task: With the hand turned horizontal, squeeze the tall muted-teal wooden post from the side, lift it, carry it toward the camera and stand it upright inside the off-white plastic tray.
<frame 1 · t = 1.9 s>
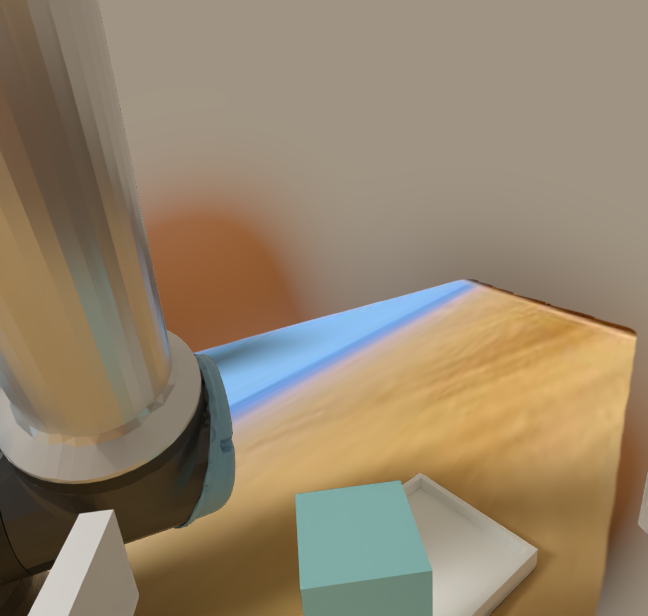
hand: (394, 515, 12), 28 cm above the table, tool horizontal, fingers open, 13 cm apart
tray: (426, 561, 43), on the table
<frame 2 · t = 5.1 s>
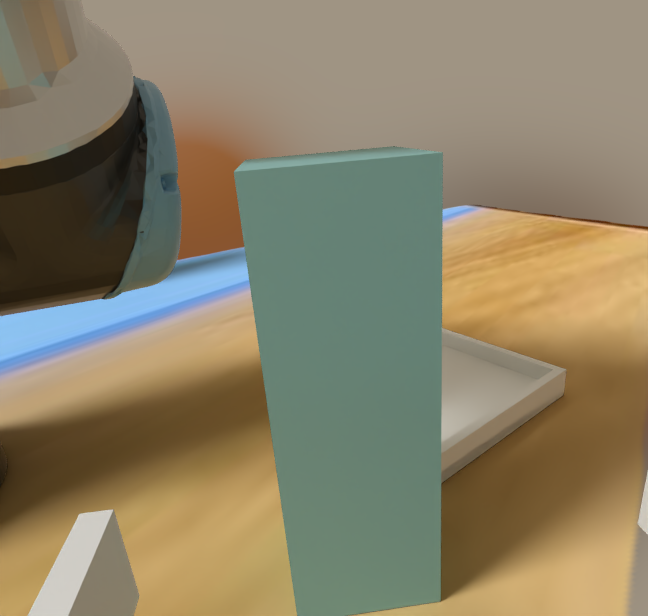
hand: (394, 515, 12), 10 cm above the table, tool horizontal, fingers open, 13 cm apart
tray: (428, 395, 35), on the table
teal post: (358, 552, 23), on the table
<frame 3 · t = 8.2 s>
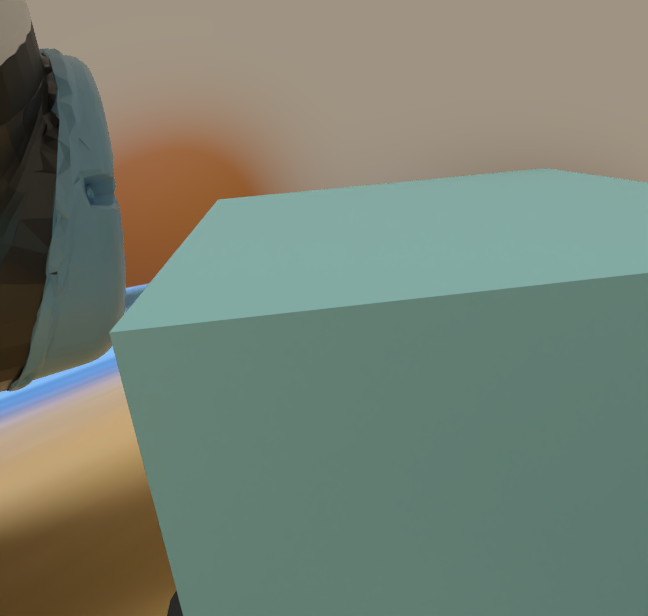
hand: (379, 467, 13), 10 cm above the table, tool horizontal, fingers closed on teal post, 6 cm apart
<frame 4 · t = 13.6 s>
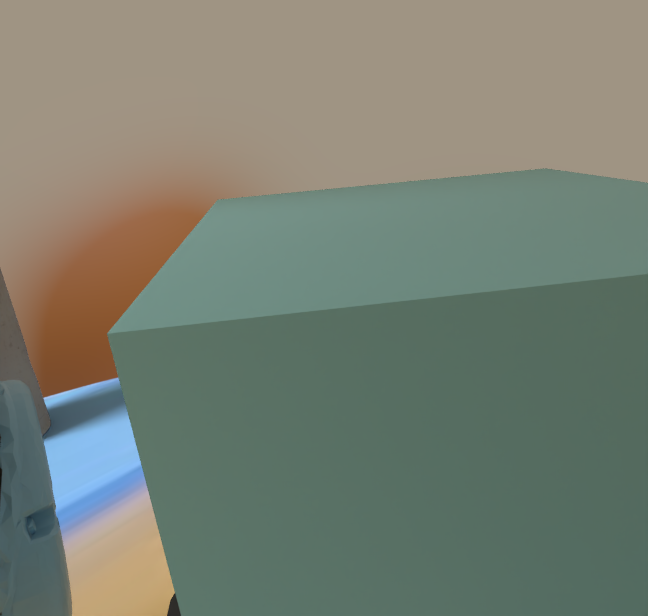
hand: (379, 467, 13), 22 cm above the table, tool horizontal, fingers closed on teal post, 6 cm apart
thermos bottle: (14, 436, 57), on the table
when the fingers open (12 cm above the table, at t = 19.0 s): teal post stays where it is, resting on tray.
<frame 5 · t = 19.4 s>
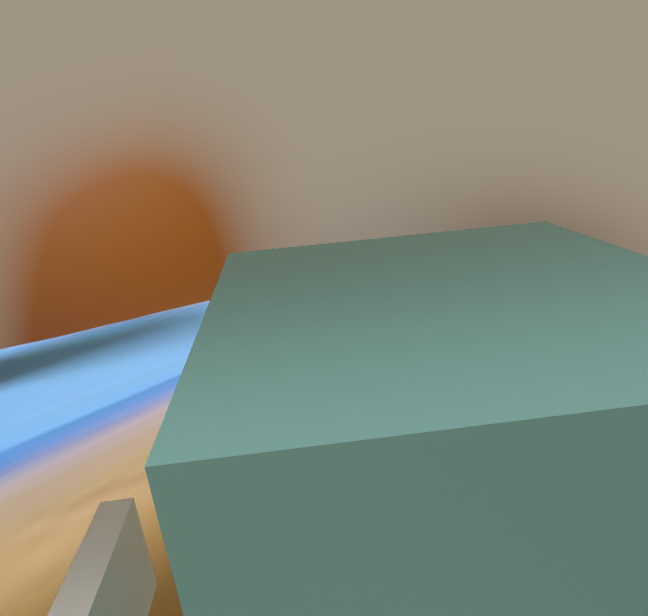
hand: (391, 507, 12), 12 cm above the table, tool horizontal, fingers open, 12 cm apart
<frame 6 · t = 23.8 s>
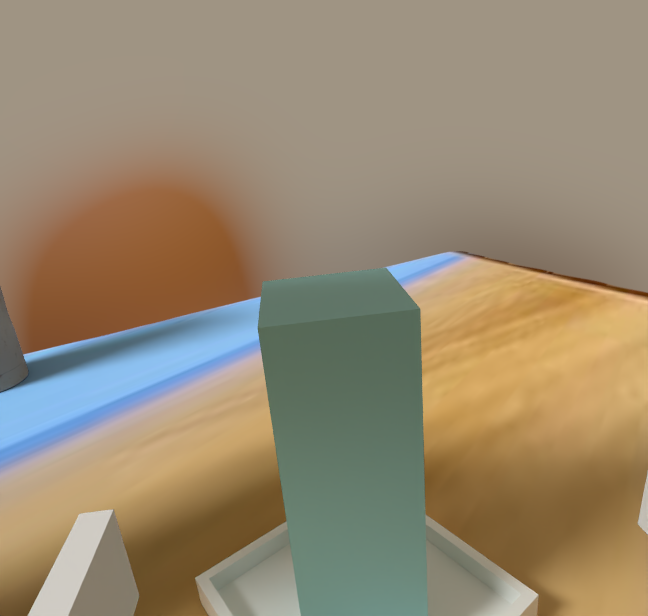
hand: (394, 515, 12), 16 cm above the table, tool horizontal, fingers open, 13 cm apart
tray: (359, 612, 27), on the table
teal post: (359, 602, 27), point 1 cm above the table, touching tray
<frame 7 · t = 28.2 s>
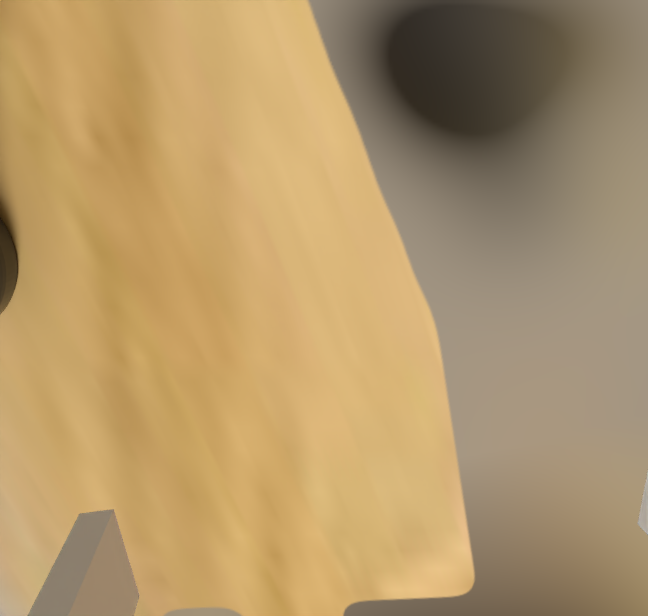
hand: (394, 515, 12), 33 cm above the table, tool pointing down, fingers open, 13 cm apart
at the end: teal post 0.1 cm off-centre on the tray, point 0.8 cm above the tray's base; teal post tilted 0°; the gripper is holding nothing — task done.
